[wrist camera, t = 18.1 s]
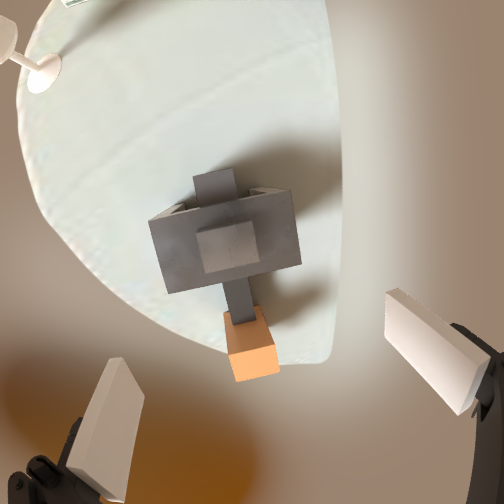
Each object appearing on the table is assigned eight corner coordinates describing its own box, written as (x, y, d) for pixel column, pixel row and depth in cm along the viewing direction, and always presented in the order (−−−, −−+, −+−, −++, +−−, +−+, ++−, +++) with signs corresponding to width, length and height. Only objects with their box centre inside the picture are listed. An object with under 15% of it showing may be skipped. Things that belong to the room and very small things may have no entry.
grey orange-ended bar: (192, 179, 32) (184, 178, 23) (232, 170, 33) (241, 166, 23) (232, 345, 39) (239, 390, 29) (265, 337, 39) (281, 380, 29)
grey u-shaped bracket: (172, 205, 33) (143, 224, 18) (260, 186, 34) (296, 191, 19) (183, 252, 34) (165, 301, 20) (268, 233, 35) (307, 269, 21)
